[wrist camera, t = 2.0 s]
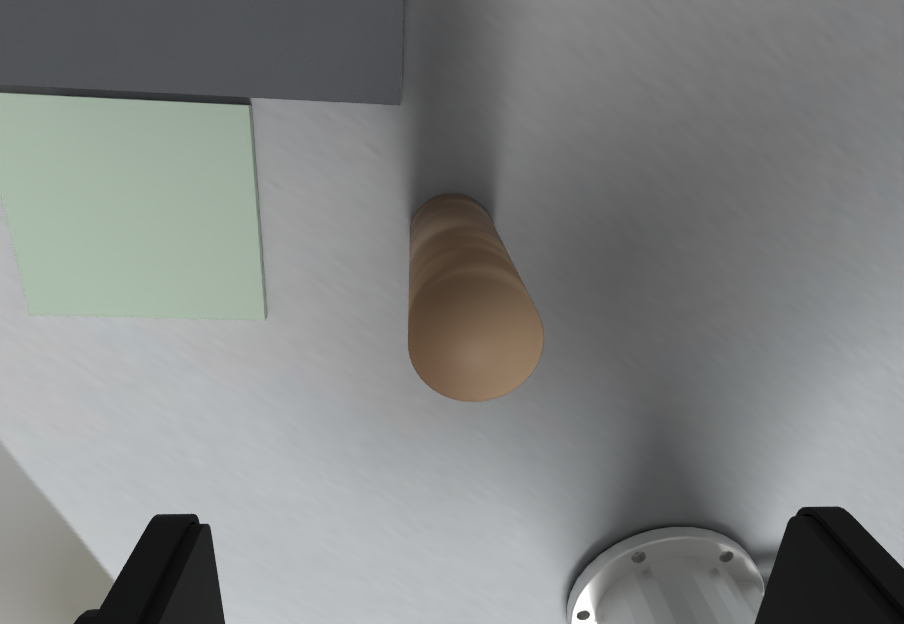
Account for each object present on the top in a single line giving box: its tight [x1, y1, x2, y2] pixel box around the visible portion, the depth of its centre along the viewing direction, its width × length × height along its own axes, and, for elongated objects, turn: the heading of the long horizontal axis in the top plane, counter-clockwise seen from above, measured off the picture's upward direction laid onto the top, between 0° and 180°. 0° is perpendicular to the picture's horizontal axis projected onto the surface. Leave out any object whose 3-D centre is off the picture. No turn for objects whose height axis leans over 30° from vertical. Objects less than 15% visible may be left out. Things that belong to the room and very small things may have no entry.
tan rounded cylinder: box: [408, 194, 544, 402], centre depth 23 cm, size 4×4×12 cm
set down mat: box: [0, 92, 267, 321], centre depth 27 cm, size 11×10×1 cm
